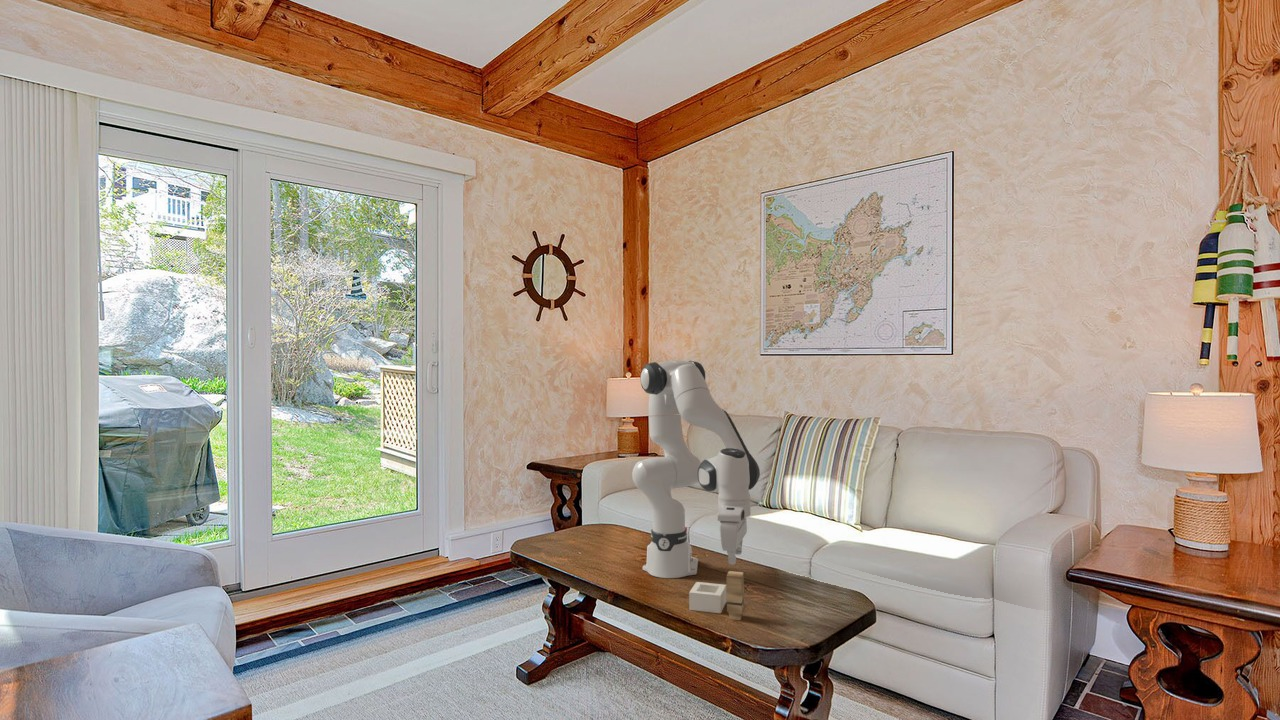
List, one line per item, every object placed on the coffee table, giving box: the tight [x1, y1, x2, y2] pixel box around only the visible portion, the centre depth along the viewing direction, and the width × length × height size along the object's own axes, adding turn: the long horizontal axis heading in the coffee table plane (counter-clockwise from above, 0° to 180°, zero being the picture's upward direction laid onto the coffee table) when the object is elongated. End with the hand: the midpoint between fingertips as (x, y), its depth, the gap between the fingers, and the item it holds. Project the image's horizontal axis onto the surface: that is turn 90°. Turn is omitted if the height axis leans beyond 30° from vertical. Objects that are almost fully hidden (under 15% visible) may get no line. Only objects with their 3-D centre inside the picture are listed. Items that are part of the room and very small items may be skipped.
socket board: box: [688, 581, 727, 614], centre depth 184 cm, size 9×9×5 cm
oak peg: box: [726, 570, 745, 621], centre depth 176 cm, size 4×4×12 cm
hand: (735, 558), depth 176 cm, fingers open, 8 cm apart
